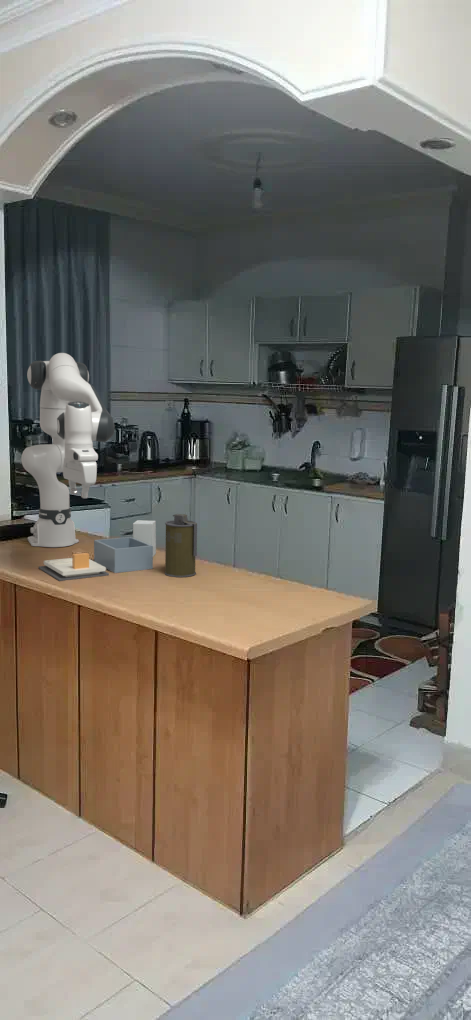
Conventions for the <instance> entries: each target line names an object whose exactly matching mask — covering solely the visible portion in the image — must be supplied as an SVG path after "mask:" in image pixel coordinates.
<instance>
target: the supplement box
mask: <svg viewBox="0 0 471 1020" xmlns="http://www.w3.org/2000/svg"><path fill="white" fill-rule="evenodd" d="M156 523H157V521H156V520H147V519H146V520H140V519H137V520H136V521H134V522H133V523H132V538H135V539H137V540H140V541H142V542H145V543H147V544H150V545H152V546H153V557H155V555H156V553H157V535H156V534H157V528H156V527H157V526H156V525H157V524H156Z"/></svg>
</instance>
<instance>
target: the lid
mask: <svg viewBox="0 0 471 1020" xmlns="http://www.w3.org/2000/svg"><path fill="white" fill-rule="evenodd" d="M71 556H72V557H69V558H68V557H67V558H58V559H56V558H55V559H49V560H47V559H46V560H43V566H48V567H49V568H51V569H53V570H54V571H56V572H58V573H59V574H61V575H63V576H65V577H73V576H82V575H91V574H99V573H100V572H101V571H105V572H106V570H107V569H106V567H104V566H102V565H100V564H98V563H96V562H94V560H92V559H90V553H88V552H83V553H72V555H71Z"/></svg>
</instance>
